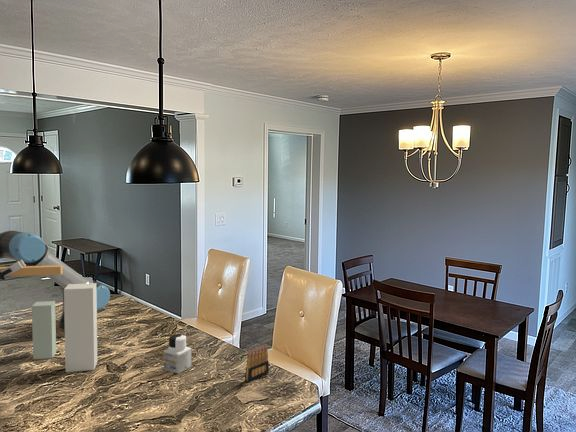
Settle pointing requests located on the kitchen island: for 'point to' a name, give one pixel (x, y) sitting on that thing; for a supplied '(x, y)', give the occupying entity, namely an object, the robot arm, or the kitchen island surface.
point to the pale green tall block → (44, 330)
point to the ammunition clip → (257, 363)
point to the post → (80, 327)
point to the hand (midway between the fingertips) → (21, 263)
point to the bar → (37, 270)
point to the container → (177, 354)
